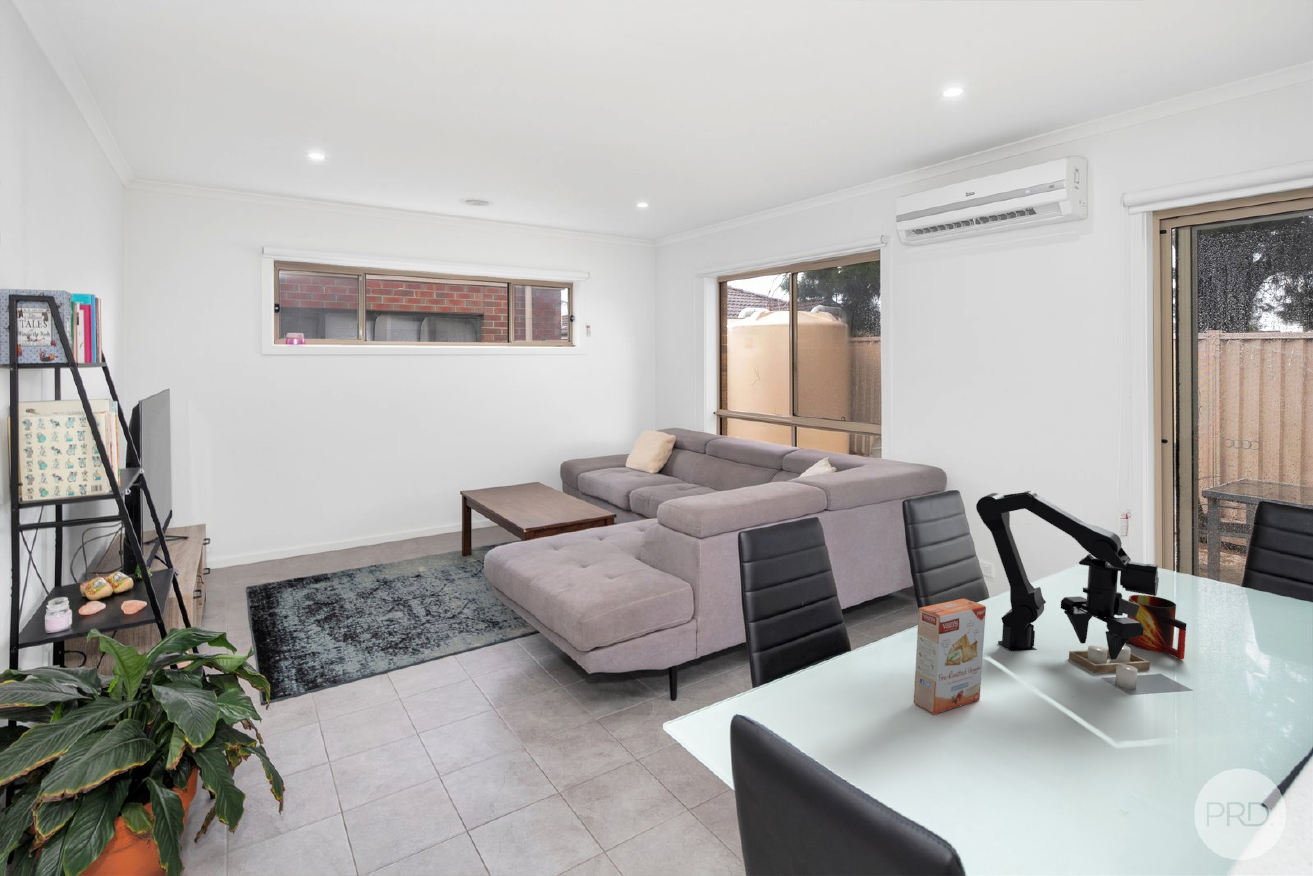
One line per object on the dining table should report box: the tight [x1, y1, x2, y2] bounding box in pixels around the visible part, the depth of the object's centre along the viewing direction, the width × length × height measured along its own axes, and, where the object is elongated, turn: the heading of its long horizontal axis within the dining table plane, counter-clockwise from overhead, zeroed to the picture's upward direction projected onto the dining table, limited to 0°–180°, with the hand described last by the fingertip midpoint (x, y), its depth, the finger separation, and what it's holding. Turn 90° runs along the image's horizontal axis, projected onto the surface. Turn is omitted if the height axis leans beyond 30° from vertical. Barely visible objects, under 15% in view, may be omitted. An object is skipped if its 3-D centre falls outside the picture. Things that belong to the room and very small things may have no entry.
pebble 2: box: [1109, 644, 1132, 663], centre depth 160 cm, size 4×4×4 cm
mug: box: [1125, 594, 1187, 660], centre depth 169 cm, size 10×14×12 cm
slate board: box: [1101, 673, 1193, 696], centre depth 150 cm, size 15×8×1 cm, turn 98°
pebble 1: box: [1086, 645, 1108, 664], centre depth 159 cm, size 4×4×4 cm
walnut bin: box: [1068, 648, 1151, 674], centre depth 160 cm, size 14×8×2 cm, turn 98°
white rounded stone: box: [1115, 664, 1139, 689], centre depth 149 cm, size 4×4×4 cm
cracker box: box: [913, 597, 987, 715], centre depth 142 cm, size 14×6×21 cm, turn 117°
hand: (1097, 651), depth 159 cm, fingers open, 9 cm apart
